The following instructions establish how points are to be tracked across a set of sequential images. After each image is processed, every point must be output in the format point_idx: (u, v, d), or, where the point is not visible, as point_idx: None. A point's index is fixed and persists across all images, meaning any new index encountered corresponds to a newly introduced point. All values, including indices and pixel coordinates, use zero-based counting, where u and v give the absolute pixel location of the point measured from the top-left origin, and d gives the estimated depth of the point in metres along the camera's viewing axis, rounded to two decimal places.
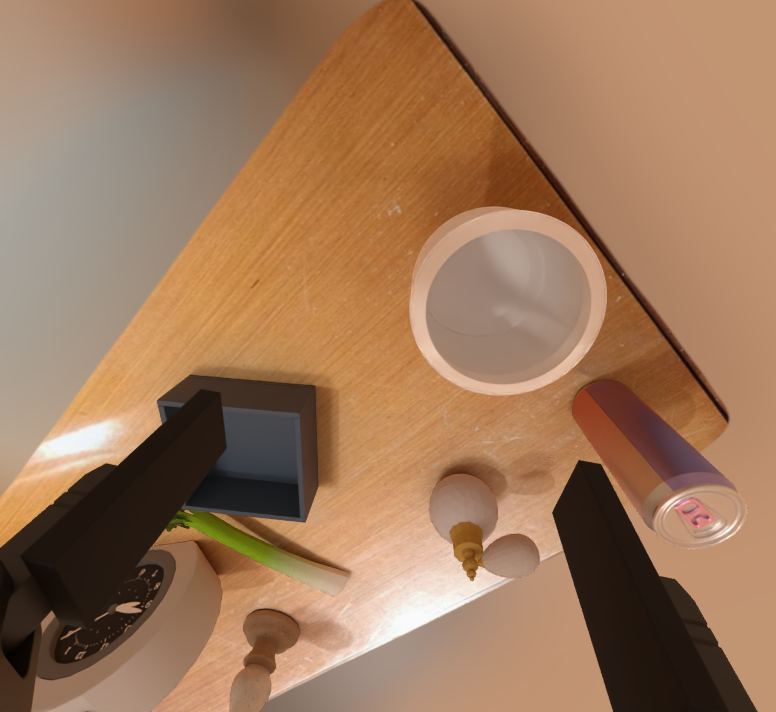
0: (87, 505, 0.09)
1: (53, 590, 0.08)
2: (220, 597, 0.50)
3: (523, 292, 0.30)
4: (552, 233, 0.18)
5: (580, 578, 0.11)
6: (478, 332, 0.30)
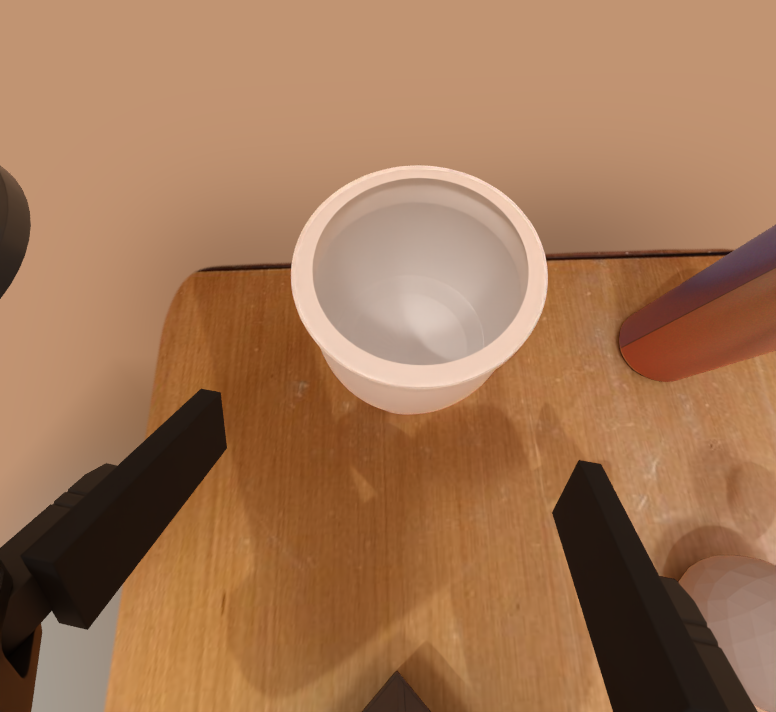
0: (87, 505, 0.09)
1: (53, 590, 0.08)
2: None
3: (459, 322, 0.26)
4: (374, 182, 0.16)
5: (580, 578, 0.11)
6: None
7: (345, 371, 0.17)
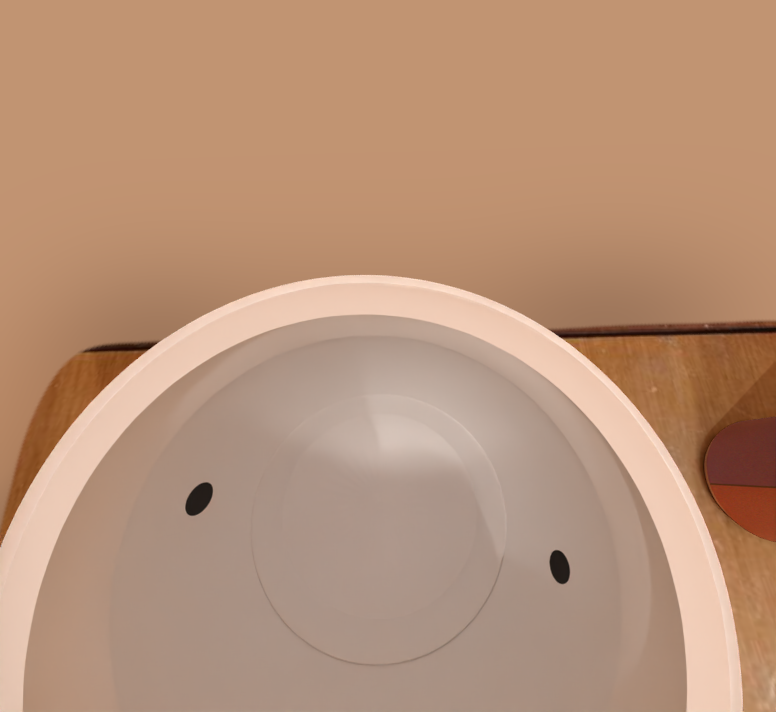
0: None
1: None
2: None
3: (464, 465, 0.16)
4: (248, 327, 0.06)
5: None
6: (475, 599, 0.13)
7: None
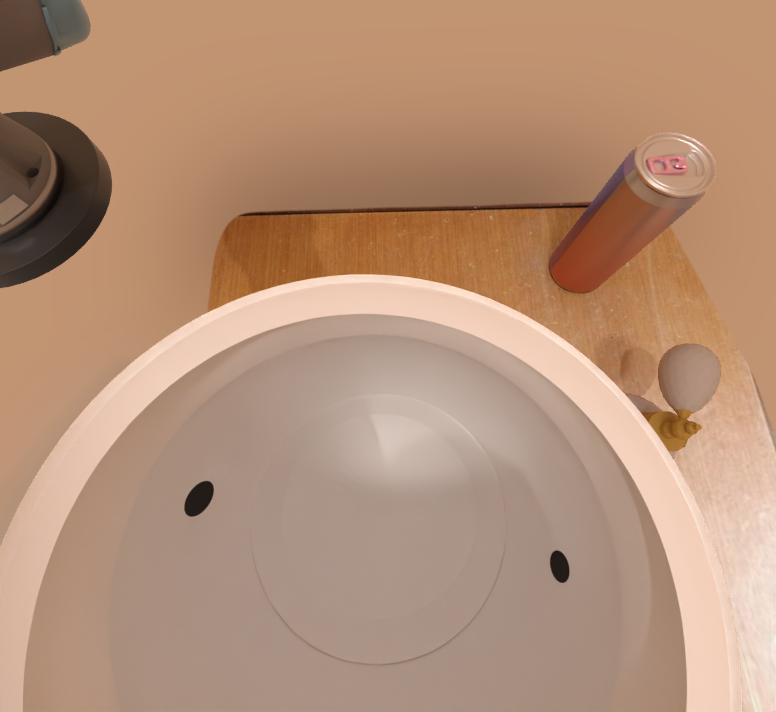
0: None
1: None
2: None
3: (464, 465, 0.16)
4: (248, 326, 0.06)
5: None
6: (475, 598, 0.13)
7: None
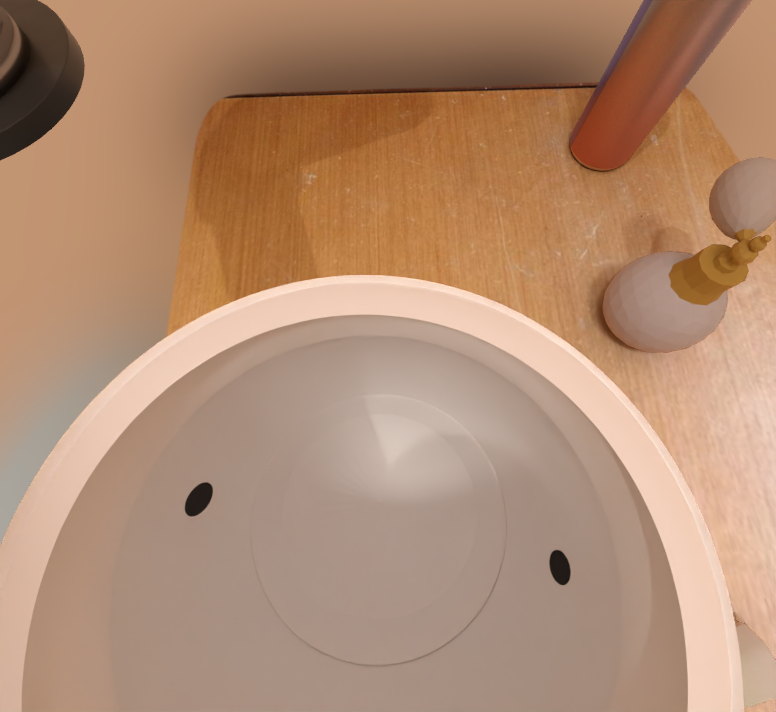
0: None
1: None
2: None
3: (464, 465, 0.16)
4: (248, 327, 0.06)
5: None
6: (475, 599, 0.13)
7: None
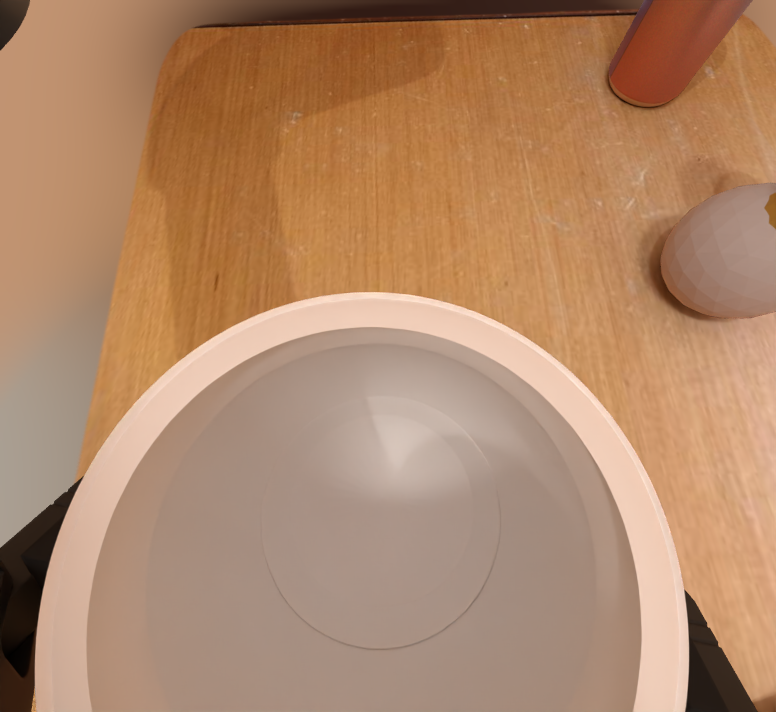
0: None
1: None
2: None
3: (461, 463, 0.17)
4: (270, 338, 0.07)
5: None
6: (471, 588, 0.14)
7: None
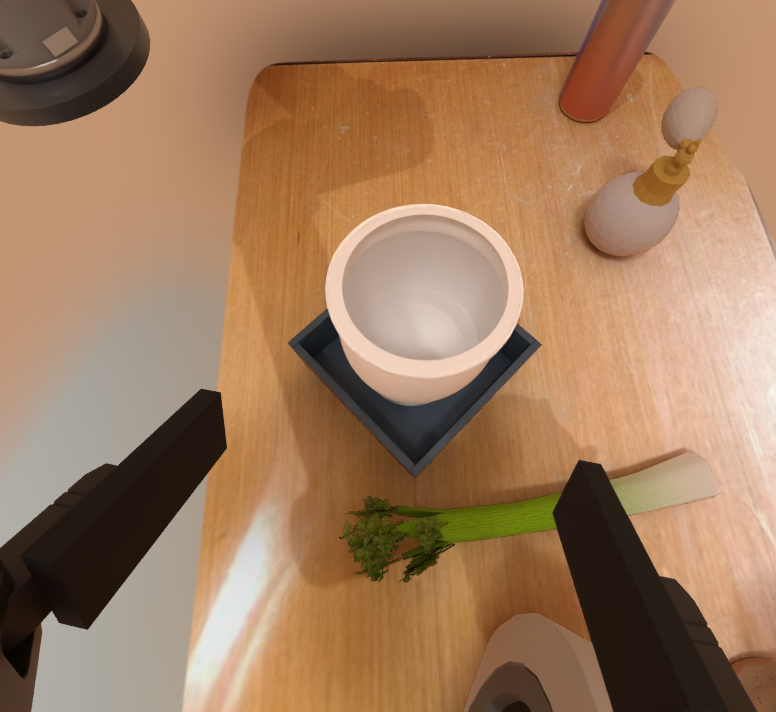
0: (87, 505, 0.09)
1: (53, 590, 0.08)
2: None
3: (457, 326, 0.30)
4: (389, 218, 0.21)
5: (580, 578, 0.11)
6: None
7: (365, 366, 0.21)
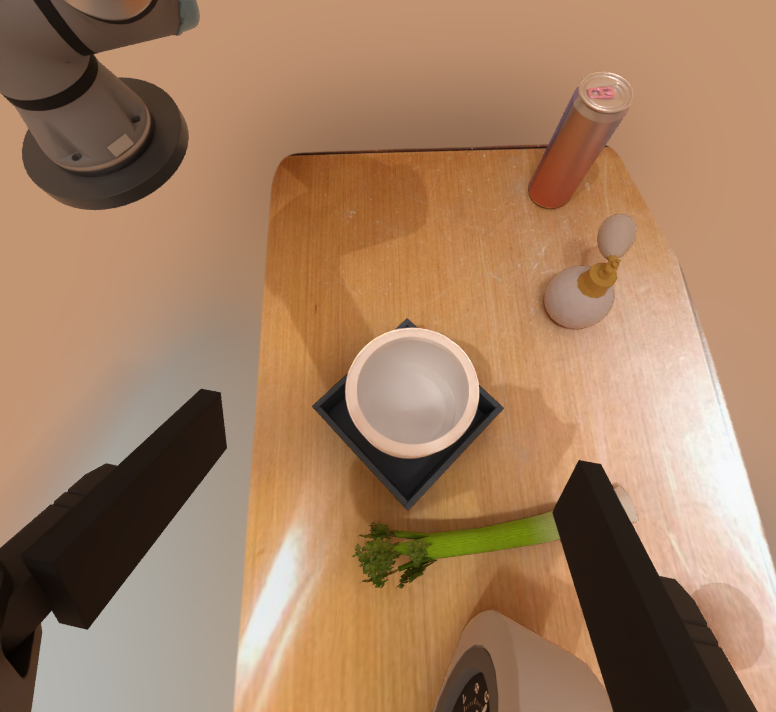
0: (87, 505, 0.09)
1: (53, 590, 0.08)
2: None
3: (441, 392, 0.40)
4: (388, 339, 0.30)
5: (580, 578, 0.11)
6: (443, 435, 0.37)
7: None
